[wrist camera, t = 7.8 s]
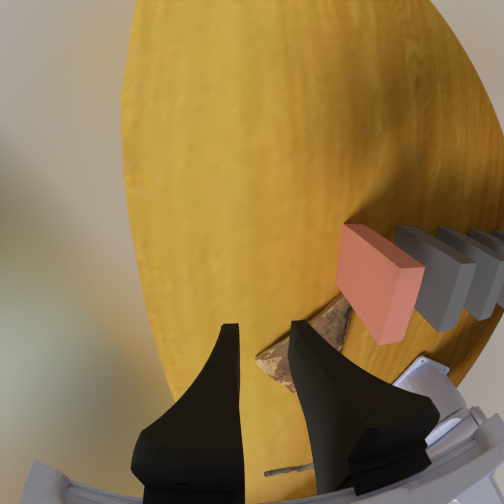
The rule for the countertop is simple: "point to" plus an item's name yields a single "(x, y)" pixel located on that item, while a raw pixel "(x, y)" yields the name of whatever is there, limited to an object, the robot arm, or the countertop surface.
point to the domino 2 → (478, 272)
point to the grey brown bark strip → (289, 470)
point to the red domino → (378, 282)
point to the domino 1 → (437, 276)
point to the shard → (325, 323)
